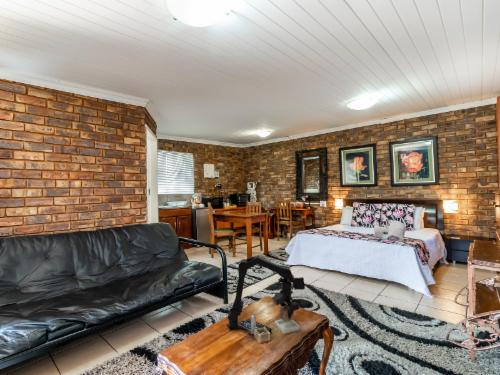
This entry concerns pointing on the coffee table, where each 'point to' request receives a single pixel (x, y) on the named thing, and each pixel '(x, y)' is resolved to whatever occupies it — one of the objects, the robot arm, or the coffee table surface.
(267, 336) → the beige square frame
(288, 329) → the tray
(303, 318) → the coffee table surface
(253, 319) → the cylinder
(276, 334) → the coffee table surface
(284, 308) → the walnut block
